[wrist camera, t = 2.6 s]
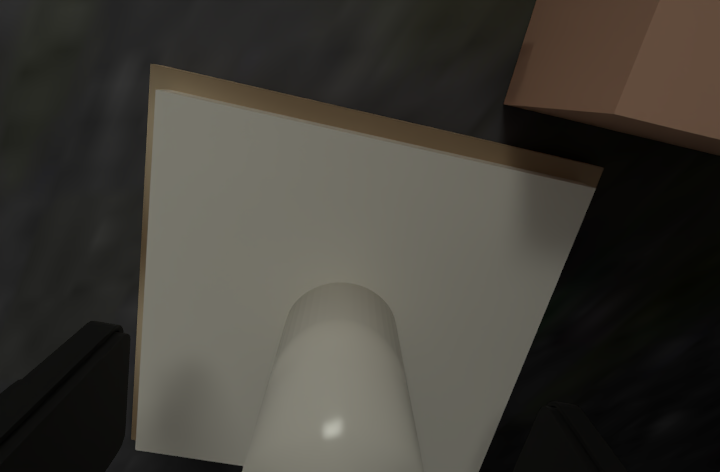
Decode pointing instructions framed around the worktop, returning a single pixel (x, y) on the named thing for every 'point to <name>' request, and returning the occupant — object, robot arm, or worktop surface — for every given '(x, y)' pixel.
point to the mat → (342, 119)
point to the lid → (336, 293)
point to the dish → (625, 67)
